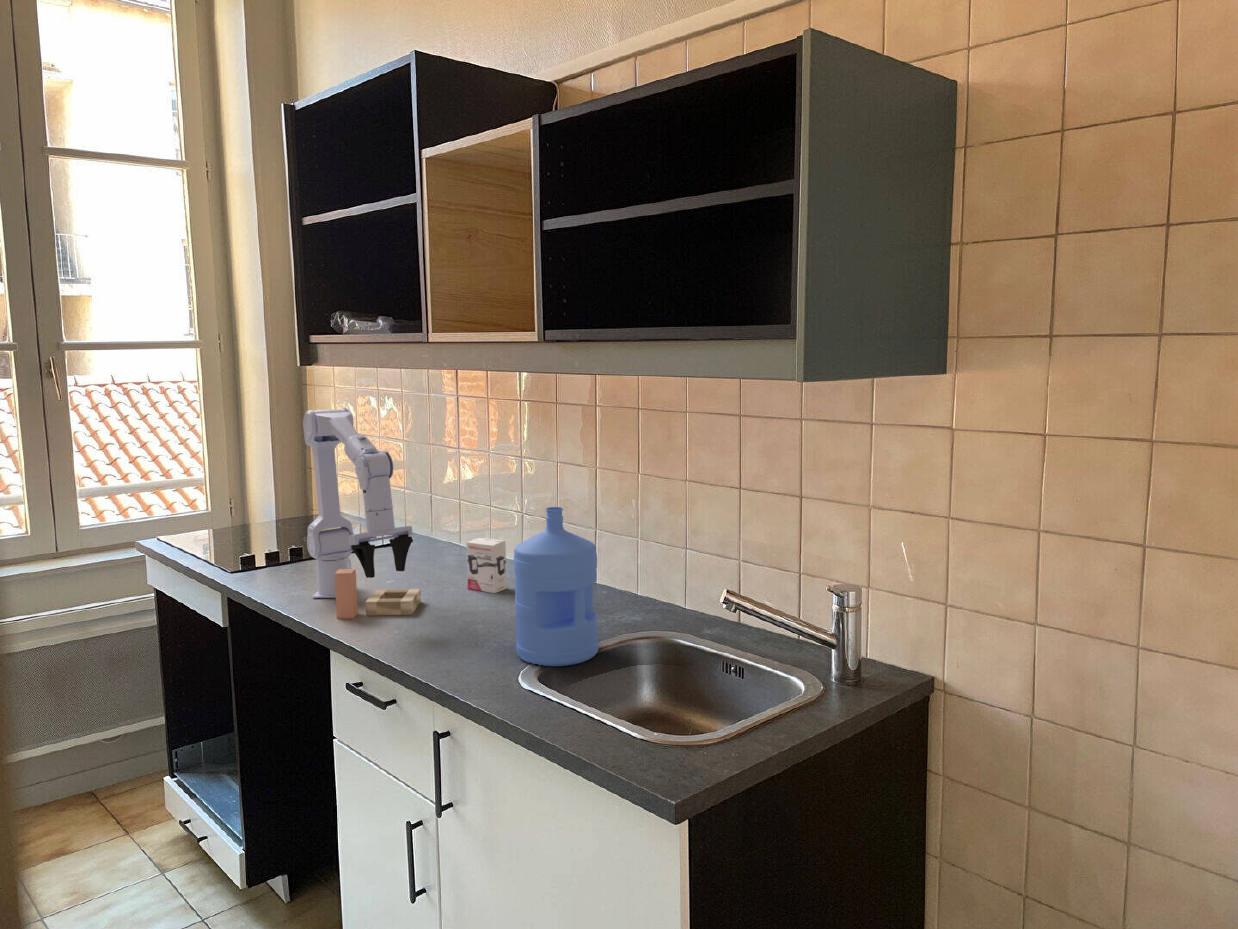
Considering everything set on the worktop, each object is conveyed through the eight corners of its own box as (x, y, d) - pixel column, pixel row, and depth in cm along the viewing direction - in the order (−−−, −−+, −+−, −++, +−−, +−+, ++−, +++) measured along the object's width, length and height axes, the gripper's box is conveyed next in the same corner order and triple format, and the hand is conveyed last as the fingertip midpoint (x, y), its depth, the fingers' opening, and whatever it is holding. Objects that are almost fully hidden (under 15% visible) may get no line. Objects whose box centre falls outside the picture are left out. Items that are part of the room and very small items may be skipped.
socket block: (376, 602, 212) (376, 589, 211) (420, 601, 212) (420, 588, 212) (365, 615, 202) (365, 602, 202) (412, 614, 202) (411, 601, 202)
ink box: (466, 589, 222) (465, 541, 221) (479, 584, 226) (478, 537, 225) (495, 593, 218) (493, 544, 216) (508, 588, 222) (506, 540, 221)
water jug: (499, 654, 176) (494, 509, 172) (561, 635, 187) (558, 498, 183) (552, 674, 165) (549, 520, 161) (615, 652, 176) (613, 507, 172)
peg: (341, 613, 204) (339, 569, 202) (357, 613, 204) (355, 569, 202) (336, 618, 200) (334, 573, 199) (353, 618, 200) (351, 573, 199)
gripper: (360, 514, 187) (367, 580, 187) (418, 505, 198) (425, 568, 198) (340, 514, 191) (347, 580, 192) (398, 506, 202) (404, 568, 203)
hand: (385, 574), depth 195 cm, fingers open, 7 cm apart
